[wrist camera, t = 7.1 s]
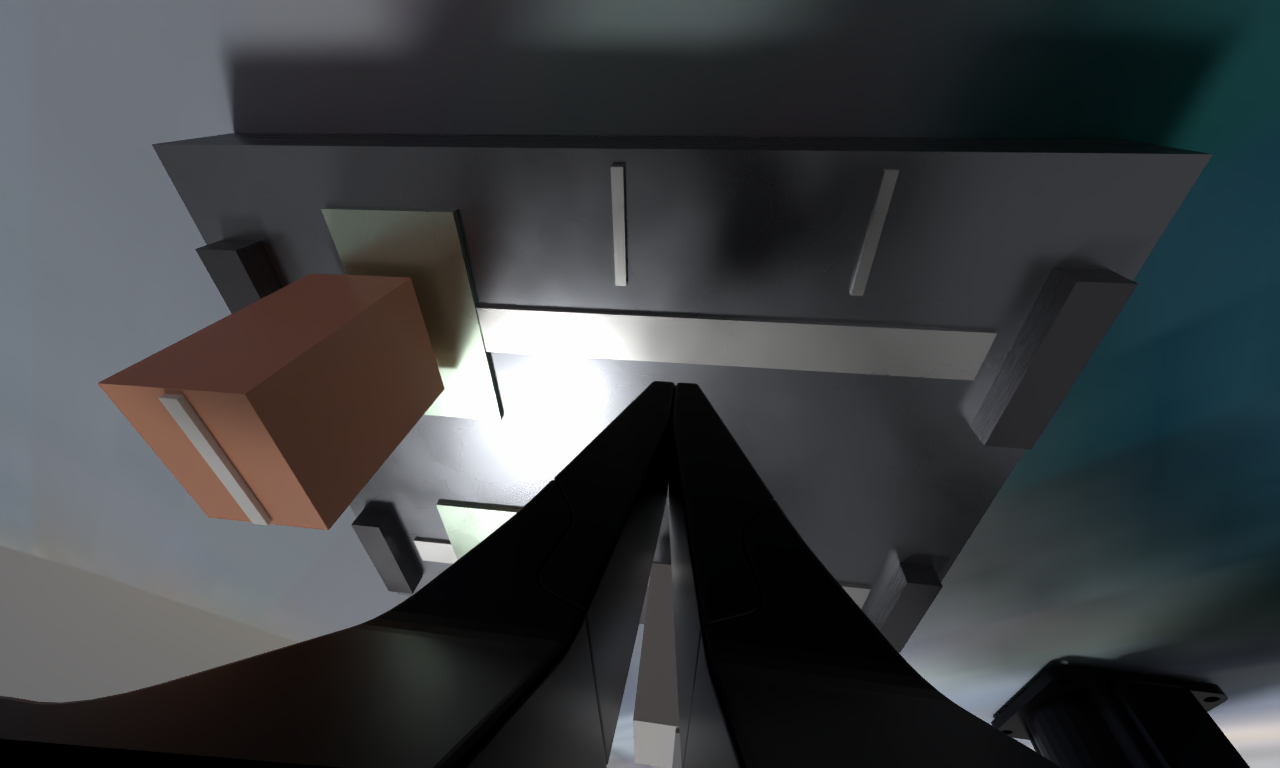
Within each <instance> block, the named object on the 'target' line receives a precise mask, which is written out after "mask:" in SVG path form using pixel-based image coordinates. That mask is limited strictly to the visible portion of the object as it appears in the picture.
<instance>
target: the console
mask: <svg viewBox="0 0 1280 768" xmlns="http://www.w3.org/2000/svg"><path fill="white" fill-rule="evenodd" d="M152 146H153V147H154V149H155V151H156V153H157V155H158V157H159V158H160V160H161V162H162V164H163V166H164V167H165V169H166V171H167V173H168V175H169V177H170V178H171V180H172V182H173V184H174V186H175V187H176V189H177V191H178V193H179V195H180V197H181V198H182V200H183V202H184V204H185V206H186V208H187V209H188V211H189V213H190V215H191V217H192V218H193V220H194V222H195V224H196V226H197V228H198V229H199V231H200V233H201V235H202V237H203V239H204V240H205V242H206V244H207V245H206V246H203V247H200V248H197V249H196V251H197V253H198V255H199V257H200V258H201V260H202V262H203V264H204V265H205V267H206V269H207V271H208V272H209V274H210V276H211V278H212V279H213V281H214V283H215V285H216V287H217V288H218V290H219V292H220V294H221V295H222V297H223V299H224V301H225V302H226V304H227V306H228V308H229V310H230V311H231V313H232V314H233V313H235V312H237V311H239V310H241V309H243V308H244V307H246V306H248V305H250V304H252V303H254V302H256V301H258V300H260V299H262V298H264V297H266V296H268V295H270V294H272V293H274V292H276V291H277V290H279V289H281V288H283V287H285V286H287V285H289V284H291V283H293V282H295V281H297V280H299V279H301V278H303V277H305V276H307V275H309V274H310V273H314V274H338V275H362V276H386V277H410V278H411V280H412V284H413V287H414V290H415V293H416V297H417V300H418V303H419V306H420V310H421V313H422V316H423V319H424V323H425V326H426V329H427V332H428V336H429V339H430V342H431V345H432V349H433V352H434V355H435V359H436V362H437V365H438V368H439V372H440V375H441V378H442V381H443V385H444V388H445V389H444V391H443V392H442V393H441V394H440V395H439V397H438V398H437V399H436V400H435V401H434V403H433V404H432V405H431V406H430V408H429V409H428V410H427V411H426V412H425V414H424V415H423V416H422V417H421V418H420V420H419V421H418V422H417V423H416V425H415V426H414V427H413V428H412V429H411V431H410V432H409V433H408V434H407V435H406V437H405V438H404V439H403V440H402V442H401V443H400V444H399V445H398V446H397V448H396V449H395V450H394V451H393V452H392V454H391V455H390V456H389V457H388V459H387V460H386V461H385V462H384V463H383V465H382V466H381V467H380V468H379V469H378V471H377V472H376V473H375V474H374V476H373V477H372V478H371V479H370V480H369V482H368V483H367V484H366V485H365V486H364V488H363V489H362V490H361V491H360V493H359V494H358V495H357V496H356V497H355V499H354V500H353V501H352V502H351V503H350V507H351V508H352V510H353V512H354V514H355V516H356V517H357V518H356V519H355V521H354V522H353V523H352V527H353V529H354V530H355V532H356V534H357V536H358V537H359V539H360V541H361V543H362V544H363V546H364V548H365V550H366V552H367V553H368V555H369V557H370V559H371V560H372V562H373V564H374V566H375V567H376V569H377V571H378V573H379V574H380V576H381V578H382V580H383V582H384V583H385V585H386V587H387V589H388V590H389V591H393V592H398V594H401V595H409V596H412V595H413V594H415V593H416V592H417V591H419V590H420V589H421V588H423V587H424V586H425V585H426V584H428V583H429V582H430V581H432V580H433V579H434V578H435V577H437V576H438V575H439V574H440V573H442V572H443V571H444V570H446V569H447V568H448V567H449V566H451V565H452V564H453V563H455V562H456V561H457V560H458V559H460V558H461V557H462V556H464V555H465V554H466V553H467V552H469V551H470V550H471V549H472V548H474V547H475V546H476V545H478V544H479V543H480V542H481V541H483V540H484V539H485V538H487V537H488V536H489V535H490V534H491V533H493V532H494V531H495V530H496V529H498V528H499V527H500V526H501V525H502V524H504V523H505V522H506V521H507V520H509V519H510V518H511V517H512V516H513V515H515V514H516V513H517V512H518V511H519V510H520V509H521V508H522V507H523V506H525V505H526V504H527V503H528V502H529V501H530V500H531V499H532V498H533V497H534V496H535V495H537V494H538V493H539V492H540V491H541V490H542V489H543V488H544V487H545V486H546V485H547V484H548V483H549V482H550V481H551V480H554V478H555V476H556V475H557V474H558V473H559V472H561V471H562V470H563V469H564V468H565V467H566V466H567V465H568V464H569V463H570V462H571V461H572V460H573V459H574V458H575V457H576V456H577V455H578V454H579V453H580V452H581V451H582V450H583V449H584V448H585V447H586V446H587V445H588V444H589V443H590V442H591V441H592V440H593V439H594V438H595V437H596V436H598V435H599V434H600V433H601V432H602V431H603V430H604V429H605V428H606V427H607V426H608V425H609V424H610V423H611V422H612V421H613V420H614V419H615V418H616V417H617V416H618V415H619V414H620V413H621V412H622V411H623V410H624V409H625V408H626V407H627V406H628V405H629V404H630V403H631V402H632V401H633V400H635V399H636V398H637V397H638V396H639V395H640V394H641V393H642V392H643V391H644V390H645V389H646V388H647V387H648V386H649V385H650V384H651V383H652V382H654V381H666V382H673V383H674V384H675V386H676V384H677V383H679V382H681V383H696V384H698V385H699V386H700V388H701V389H702V391H703V392H704V394H705V395H706V397H707V398H708V400H709V401H710V403H711V404H712V406H713V407H714V409H715V410H716V412H717V413H718V415H719V416H720V418H721V419H722V421H723V422H724V424H725V425H726V427H727V428H728V430H729V431H730V433H731V434H732V436H733V437H734V439H735V440H736V442H737V443H738V445H739V446H740V448H741V449H742V451H743V452H744V454H745V455H746V457H747V458H748V460H749V461H750V463H751V464H752V466H753V467H754V469H755V470H756V472H757V473H758V474H759V476H760V477H761V479H762V480H763V482H764V483H765V485H766V486H767V488H768V489H769V491H770V492H771V494H772V495H773V497H774V500H776V501H777V502H778V504H779V506H780V507H781V509H782V510H783V512H784V513H785V515H786V516H787V518H788V519H789V520H790V522H791V523H792V525H793V526H794V527H795V529H796V530H797V532H798V533H799V534H800V536H801V537H802V538H803V540H804V541H805V543H806V544H807V545H808V546H809V548H810V549H811V550H812V551H813V553H814V554H815V555H816V556H817V557H818V559H819V560H820V561H821V562H822V564H823V565H824V566H825V567H826V568H827V570H828V571H829V572H830V573H831V574H832V576H833V577H834V578H835V579H836V580H837V582H838V583H839V584H840V585H841V586H842V587H843V589H844V590H845V591H846V592H847V593H848V594H849V596H850V597H851V598H852V599H853V600H854V601H855V603H856V604H857V605H858V606H859V607H860V608H861V610H862V611H863V612H864V613H865V614H866V615H867V617H868V618H869V619H870V620H871V621H872V622H873V624H874V625H875V626H876V627H877V628H878V629H879V631H880V632H881V633H882V634H883V635H884V636H885V638H886V639H887V640H888V641H889V642H890V644H891V645H892V646H893V647H894V648H895V649H896V650H897V652H901V650H902V649H903V647H904V646H905V644H906V642H907V641H908V639H909V638H910V636H911V635H912V633H913V632H914V630H915V628H916V627H917V625H918V624H919V622H920V621H921V619H922V618H923V616H924V615H925V613H926V611H927V610H928V608H929V607H930V605H931V604H932V602H933V601H934V599H935V598H936V596H937V594H938V593H939V591H940V590H941V588H942V587H943V586H942V584H941V581H942V580H943V578H944V577H945V575H946V573H947V572H948V570H949V569H950V567H951V566H952V564H953V562H954V561H955V559H956V558H957V556H958V554H959V553H960V551H961V550H962V548H963V547H964V545H965V543H966V542H967V540H968V539H969V537H970V536H971V534H972V532H973V531H974V529H975V528H976V526H977V525H978V523H979V521H980V520H981V518H982V517H983V515H984V514H985V512H986V510H987V509H988V507H989V506H990V504H991V503H992V501H993V499H994V498H995V496H996V495H997V493H998V492H999V490H1000V488H1001V487H1002V485H1003V484H1004V482H1005V481H1006V479H1007V477H1008V476H1009V474H1010V473H1011V471H1012V470H1013V468H1014V466H1015V465H1016V463H1017V462H1018V460H1019V459H1020V457H1021V455H1022V454H1023V452H1024V451H1025V449H1032V447H1033V446H1034V444H1035V443H1036V441H1037V440H1038V438H1039V436H1040V435H1041V433H1042V432H1043V430H1044V429H1045V427H1046V426H1047V424H1048V422H1049V421H1050V419H1051V418H1052V416H1053V415H1054V413H1055V412H1056V410H1057V409H1058V407H1059V405H1060V404H1061V402H1062V401H1063V399H1064V398H1065V396H1066V395H1067V393H1068V391H1069V390H1070V388H1071V387H1072V385H1073V384H1074V382H1075V381H1076V379H1077V378H1078V376H1079V374H1080V373H1081V371H1082V370H1083V368H1084V367H1085V365H1086V364H1087V362H1088V361H1089V359H1090V357H1091V356H1092V354H1093V353H1094V351H1095V350H1096V348H1097V347H1098V345H1099V343H1100V342H1101V340H1102V339H1103V337H1104V336H1105V334H1106V333H1107V331H1108V330H1109V328H1110V326H1111V325H1112V323H1113V322H1114V320H1115V319H1116V317H1117V316H1118V314H1119V312H1120V311H1121V309H1122V308H1123V306H1124V305H1125V303H1126V302H1127V300H1128V299H1129V297H1130V295H1131V294H1132V292H1133V291H1134V289H1135V288H1136V286H1137V285H1138V284H1137V283H1135V282H1133V279H1134V278H1135V276H1136V275H1137V273H1138V271H1139V270H1140V268H1141V267H1142V265H1143V264H1144V262H1145V260H1146V259H1147V257H1148V256H1149V254H1150V253H1151V251H1152V249H1153V248H1154V246H1155V245H1156V243H1157V242H1158V240H1159V238H1160V237H1161V235H1162V234H1163V232H1164V231H1165V229H1166V227H1167V226H1168V224H1169V223H1170V221H1171V220H1172V218H1173V216H1174V215H1175V213H1176V212H1177V210H1178V209H1179V207H1180V205H1181V204H1182V202H1183V201H1184V199H1185V198H1186V196H1187V194H1188V193H1189V191H1190V190H1191V188H1192V187H1193V185H1194V183H1195V182H1196V180H1197V179H1198V177H1199V175H1200V174H1201V172H1202V171H1203V169H1204V168H1205V166H1206V164H1207V163H1208V161H1209V160H1210V158H1211V157H1212V155H1213V154H1208V153H1202V152H1196V151H1190V150H1185V149H1179V148H1173V147H1167V146H1161V145H1155V144H1150V143H1144V142H1138V141H1132V140H1126V139H1041V138H883V137H726V136H569V135H412V134H255V133H231V134H224V135H217V136H209V137H202V138H195V139H187V140H180V141H173V142H165V143H158V144H152ZM668 490H669V485H668ZM653 563H658V564H668V565H671V548H670V528H669V508H668V493H667V499H666V505H665V510H664V514H663V519H662V523H661V528H660V532H659V537H658V541H657V546H656V550H655V554H654V559H653ZM650 573H651V572H650ZM649 581H650V577H649ZM649 581H648V586H647V590H646V595H645V599H644V604H643V608H642V613H641V617H640V622H639V623H641V624H645V616H646V607H647V599H648V590H649Z"/></svg>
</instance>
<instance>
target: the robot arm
mask: <svg viewBox="0 0 1280 768" xmlns="http://www.w3.org/2000/svg"><path fill="white" fill-rule="evenodd" d="M668 485H669V490H668ZM667 493H668V508H669V528H670V548H671V568H672V588H673V608H674V628H675V648H676V668H677V688H678V708H679V728H680V748H681V768H1250V767H1249V766H1248V764H1247V763H1246V762H1245V761H1244V759H1243V758H1242V757H1241V755H1240V754H1239V753H1238V751H1237V750H1236V749H1235V748H1234V746H1233V745H1232V744H1231V742H1230V741H1229V740H1228V739H1227V737H1226V736H1225V735H1224V733H1223V732H1222V731H1221V729H1220V728H1219V727H1218V726H1217V724H1216V723H1215V722H1214V720H1213V719H1212V718H1211V717H1210V715H1209V714H1208V713H1207V712H1208V711H1209V710H1211V709H1213V708H1214V707H1216V706H1218V705H1220V704H1221V703H1223V702H1225V701H1226V700H1227V699H1228V697H1227V696H1226V694H1225V693H1224V692H1223V691H1222V690H1221V688H1220V687H1219V686H1218V685H1216V684H1213V683H1205V682H1197V681H1188V680H1180V679H1172V678H1163V677H1155V676H1146V675H1138V674H1129V673H1121V672H1113V671H1104V670H1096V669H1087V668H1079V667H1070V666H1055V667H1051V668H1049V669H1047V670H1046V671H1045V672H1044V673H1043V674H1042V675H1041V676H1040V677H1039V678H1038V679H1037V680H1035V681H1034V682H1033V683H1032V684H1031V685H1030V686H1029V687H1028V688H1027V689H1026V690H1025V691H1024V692H1023V693H1022V694H1021V695H1019V696H1018V697H1017V698H1016V699H1015V700H1014V701H1013V702H1012V703H1011V704H1010V705H1009V706H1008V707H1007V708H1006V709H1005V710H1003V711H1002V712H1001V713H1000V714H999V715H998V716H997V717H996V718H995V719H994V720H993V721H992V722H991V724H992V725H990V724H988V723H987V722H985V721H983V720H981V719H980V718H978V717H976V716H975V715H973V714H971V713H970V712H968V711H966V710H965V709H963V708H961V707H960V706H958V705H957V704H955V703H954V702H952V701H951V700H950V699H948V698H947V697H945V696H944V695H943V694H941V693H940V692H939V691H938V690H936V689H935V688H934V687H933V686H932V685H931V684H929V683H928V682H927V681H926V680H925V679H924V678H923V677H922V676H921V675H919V674H918V673H917V672H916V671H915V670H914V669H913V668H912V667H911V666H910V665H909V664H908V663H907V662H906V660H905V659H904V658H903V657H902V656H901V655H900V654H899V653H898V652H897V650H896V649H895V648H894V647H893V646H892V645H891V644H890V642H889V641H888V640H887V639H886V638H885V636H884V635H883V634H882V633H881V632H880V631H879V629H878V628H877V627H876V626H875V625H874V624H873V622H872V621H871V620H870V619H869V618H868V617H867V615H866V614H865V613H864V612H863V611H862V610H861V608H860V607H859V606H858V605H857V604H856V603H855V601H854V600H853V599H852V598H851V597H850V596H849V594H848V593H847V592H846V591H845V590H844V589H843V587H842V586H841V585H840V584H839V583H838V582H837V580H836V579H835V578H834V577H833V576H832V574H831V573H830V572H829V571H828V570H827V568H826V567H825V566H824V565H823V564H822V562H821V561H820V560H819V559H818V557H817V556H816V555H815V554H814V553H813V551H812V550H811V549H810V548H809V546H808V545H807V544H806V543H805V541H804V540H803V538H802V537H801V536H800V534H799V533H798V532H797V530H796V529H795V527H794V526H793V525H792V523H791V522H790V520H789V519H788V518H787V516H786V515H785V513H784V512H783V510H782V509H781V507H780V506H779V504H778V502H777V501H776V500H774V497H773V495H772V494H771V492H770V491H769V489H768V488H767V486H766V485H765V483H764V482H763V480H762V479H761V477H760V476H759V474H758V473H757V472H756V470H755V469H754V467H753V466H752V464H751V463H750V461H749V460H748V458H747V457H746V455H745V454H744V452H743V451H742V449H741V448H740V446H739V445H738V443H737V442H736V440H735V439H734V437H733V436H732V434H731V433H730V431H729V430H728V428H727V427H726V425H725V424H724V422H723V421H722V419H721V418H720V416H719V415H718V413H717V412H716V410H715V409H714V407H713V406H712V404H711V403H710V401H709V400H708V398H707V397H706V395H705V394H704V392H703V391H702V389H701V388H700V386H699V385H698V384H696V383H681V382H679V383H677V384H676V386H675V384H674V383H673V382H666V381H654V382H652V383H651V384H650V385H649V386H648V387H647V388H646V389H645V390H644V391H643V392H642V393H641V394H640V395H639V396H638V397H637V398H636V399H635V400H633V401H632V402H631V403H630V404H629V405H628V406H627V407H626V408H625V409H624V410H623V411H622V412H621V413H620V414H619V415H618V416H617V417H616V418H615V419H614V420H613V421H612V422H611V423H610V424H609V425H608V426H607V427H606V428H605V429H604V430H603V431H602V432H601V433H600V434H599V435H598V436H596V437H595V438H594V439H593V440H592V441H591V442H590V443H589V444H588V445H587V446H586V447H585V448H584V449H583V450H582V451H581V452H580V453H579V454H578V455H577V456H576V457H575V458H574V459H573V460H572V461H571V462H570V463H569V464H568V465H567V466H566V467H565V468H564V469H563V470H562V471H561V472H559V473H558V474H557V475H556V476H555V478H554V480H551V481H550V482H549V483H548V484H547V485H546V486H545V487H544V488H543V489H542V490H541V491H540V492H539V493H538V494H537V495H535V496H534V497H533V498H532V499H531V500H530V501H529V502H528V503H527V504H526V505H525V506H523V507H522V508H521V509H520V510H519V511H518V512H517V513H516V514H515V515H513V516H512V517H511V518H510V519H509V520H507V521H506V522H505V523H504V524H502V525H501V526H500V527H499V528H498V529H496V530H495V531H494V532H493V533H491V534H490V535H489V536H488V537H487V538H485V539H484V540H483V541H481V542H480V543H479V544H478V545H476V546H475V547H474V548H472V549H471V550H470V551H469V552H467V553H466V554H465V555H464V556H462V557H461V558H460V559H458V560H457V561H456V562H455V563H453V564H452V565H451V566H449V567H448V568H447V569H446V570H444V571H443V572H442V573H440V574H439V575H438V576H437V577H435V578H434V579H433V580H432V581H430V582H429V583H428V584H426V585H425V586H424V587H423V588H421V589H420V590H419V591H417V592H416V593H415V594H413V595H412V596H411V597H409V598H408V599H406V600H405V601H404V602H402V603H400V604H399V605H397V606H396V607H394V608H393V609H391V610H389V611H387V612H386V613H384V614H382V615H380V616H378V617H376V618H374V619H372V620H369V621H367V622H365V623H362V624H360V625H357V626H354V627H351V628H347V629H344V630H341V631H337V632H334V633H331V634H327V635H324V636H320V637H317V638H314V639H310V640H307V641H304V642H300V643H297V644H294V645H290V646H287V647H283V648H280V649H277V650H273V651H270V652H267V653H263V654H260V655H256V656H253V657H250V658H246V659H243V660H239V661H236V662H233V663H230V664H226V665H223V666H219V667H216V668H213V669H209V670H206V671H202V672H199V673H195V674H192V675H189V676H185V677H182V678H179V679H176V680H172V681H168V682H165V683H162V684H159V685H154V686H151V687H147V688H143V689H139V690H136V691H131V692H128V693H123V694H118V695H113V696H107V697H102V698H97V699H92V700H83V701H74V702H64V703H55V702H54V703H53V702H37V701H30V700H25V699H19V698H12V697H4V696H0V768H607V767H606V765H607V764H608V761H609V756H610V752H611V747H612V743H613V738H614V734H615V729H616V725H617V720H618V716H619V711H620V707H621V702H622V698H623V693H624V689H625V685H626V680H627V676H628V671H629V667H630V662H631V658H632V653H633V649H634V644H635V640H636V635H637V631H638V626H639V622H640V617H641V613H642V608H643V604H644V599H645V595H646V590H647V586H648V581H649V577H650V572H651V568H652V563H653V559H654V554H655V550H656V546H657V541H658V537H659V532H660V528H661V523H662V519H663V514H664V510H665V505H666V499H667ZM1012 737H1013V738H1020V739H1027V740H1030V741H1031V743H1032V745H1033V747H1034V749H1035V751H1036V752H1035V751H1034V750H1032V749H1030V748H1029V747H1027V746H1025V745H1024V744H1022V743H1020V742H1018V741H1017V740H1015V739H1013V738H1012Z"/></svg>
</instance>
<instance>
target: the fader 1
mask: <svg viewBox="0 0 1280 768" xmlns="http://www.w3.org/2000/svg"><path fill="white" fill-rule="evenodd" d="M98 384H99V386H100V387H101V388H102V389H103V391H104V392H105V393H106V394H107V395H108V397H109V398H110V399H111V400H112V401H113V403H114V404H115V405H116V406H117V407H118V409H119V410H120V411H121V412H122V413H123V415H124V416H125V417H126V418H127V419H128V421H129V422H130V423H131V424H132V426H133V427H134V428H135V429H136V430H137V432H138V433H139V434H140V435H141V436H142V438H143V439H144V440H145V441H146V442H147V444H148V445H149V446H150V447H151V448H152V450H153V451H154V452H155V453H156V454H157V456H158V457H159V458H160V459H161V461H162V462H163V463H164V464H165V465H166V467H167V468H168V469H169V470H170V471H171V473H172V474H173V475H174V476H175V477H176V479H177V480H178V481H179V482H180V483H181V485H182V486H183V487H184V488H185V489H186V491H187V492H188V493H189V494H190V496H191V497H192V498H193V499H194V500H195V502H196V503H197V504H198V505H199V506H200V508H201V509H202V510H203V511H204V512H205V514H206V515H207V516H208V517H209V518H219V519H228V520H238V521H247V522H252V523H253V524H259V525H269V524H275V525H285V526H294V527H303V528H313V529H322V530H329V529H330V528H331V526H332V525H333V524H334V523H335V522H336V520H337V519H338V518H339V517H340V516H341V514H342V513H343V512H344V511H345V509H346V508H347V507H348V506H349V505H350V503H351V502H352V501H353V500H354V499H355V497H356V496H357V495H358V494H359V493H360V491H361V490H362V489H363V488H364V486H365V485H366V484H367V483H368V482H369V480H370V479H371V478H372V477H373V476H374V474H375V473H376V472H377V471H378V469H379V468H380V467H381V466H382V465H383V463H384V462H385V461H386V460H387V459H388V457H389V456H390V455H391V454H392V452H393V451H394V450H395V449H396V448H397V446H398V445H399V444H400V443H401V442H402V440H403V439H404V438H405V437H406V435H407V434H408V433H409V432H410V431H411V429H412V428H413V427H414V426H415V425H416V423H417V422H418V421H419V420H420V418H421V417H422V416H423V415H424V414H425V412H426V411H427V410H428V409H429V408H430V406H431V405H432V404H433V403H434V401H435V400H436V399H437V398H438V397H439V395H440V394H441V393H442V392H443V391H444V389H445V388H444V385H443V381H442V378H441V375H440V372H439V368H438V365H437V362H436V359H435V355H434V352H433V349H432V345H431V342H430V339H429V336H428V332H427V329H426V326H425V323H424V319H423V316H422V313H421V310H420V306H419V303H418V300H417V297H416V293H415V290H414V287H413V284H412V280H411V278H410V277H386V276H362V275H338V274H314V273H310V274H309V275H307V276H305V277H303V278H301V279H299V280H297V281H295V282H293V283H291V284H289V285H287V286H285V287H283V288H281V289H279V290H277V291H276V292H274V293H272V294H270V295H268V296H266V297H264V298H262V299H260V300H258V301H256V302H254V303H252V304H250V305H248V306H246V307H244V308H243V309H241V310H239V311H237V312H235V313H233V314H231V315H229V316H227V317H225V318H223V319H221V320H219V321H217V322H215V323H213V324H211V325H210V326H208V327H206V328H204V329H202V330H200V331H198V332H196V333H194V334H192V335H190V336H188V337H186V338H184V339H182V340H180V341H178V342H177V343H175V344H173V345H171V346H169V347H167V348H165V349H163V350H161V351H159V352H157V353H155V354H153V355H151V356H149V357H147V358H146V359H144V360H142V361H140V362H138V363H136V364H134V365H132V366H130V367H128V368H126V369H124V370H122V371H120V372H118V373H116V374H114V375H113V376H111V377H109V378H107V379H105V380H103V381H101V382H99V383H98Z"/></svg>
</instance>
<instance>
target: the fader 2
mask: <svg viewBox="0 0 1280 768" xmlns="http://www.w3.org/2000/svg"><path fill="white" fill-rule="evenodd" d="M633 725H634V750H635V763H638V764H645V765H651V766H658V767H664V768H681V748H680V728H679V708H678V688H677V668H676V648H675V628H674V608H673V588H672V568H671V565H668V564H658V563H652V568H651V573H650V581H649V590H648V599H647V607H646V616H645V624H644V633H643V641H642V650H641V659H640V667H639V676H638V684H637V693H636V702H635V710H634V719H633Z"/></svg>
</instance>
